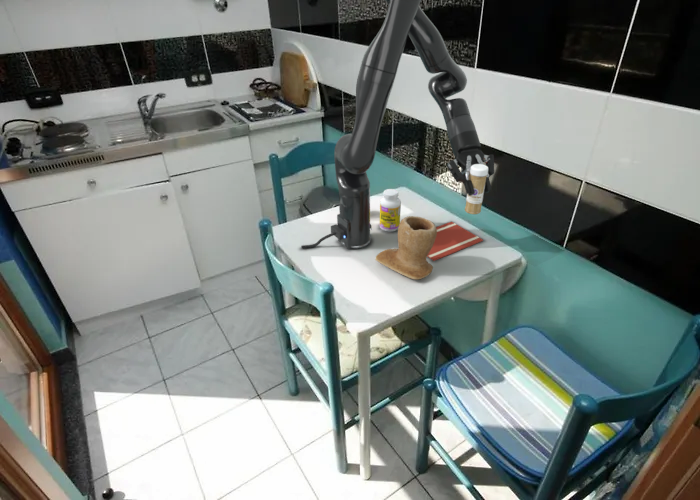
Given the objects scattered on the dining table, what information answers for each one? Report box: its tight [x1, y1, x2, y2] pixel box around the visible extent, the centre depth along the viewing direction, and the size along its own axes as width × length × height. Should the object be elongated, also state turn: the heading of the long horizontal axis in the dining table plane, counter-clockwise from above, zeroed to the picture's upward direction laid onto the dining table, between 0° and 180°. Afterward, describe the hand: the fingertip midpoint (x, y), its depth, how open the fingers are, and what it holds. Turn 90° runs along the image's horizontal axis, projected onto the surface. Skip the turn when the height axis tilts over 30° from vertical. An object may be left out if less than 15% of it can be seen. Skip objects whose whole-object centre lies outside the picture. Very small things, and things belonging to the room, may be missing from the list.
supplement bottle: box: [379, 188, 402, 233], centre depth 134 cm, size 7×7×13 cm
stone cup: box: [374, 215, 437, 281], centre depth 115 cm, size 15×12×15 cm
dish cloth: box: [427, 221, 484, 262], centre depth 130 cm, size 20×14×1 cm
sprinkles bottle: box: [464, 164, 488, 215], centre depth 115 cm, size 5×5×13 cm
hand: (480, 192), depth 113 cm, fingers closed on sprinkles bottle, 4 cm apart
